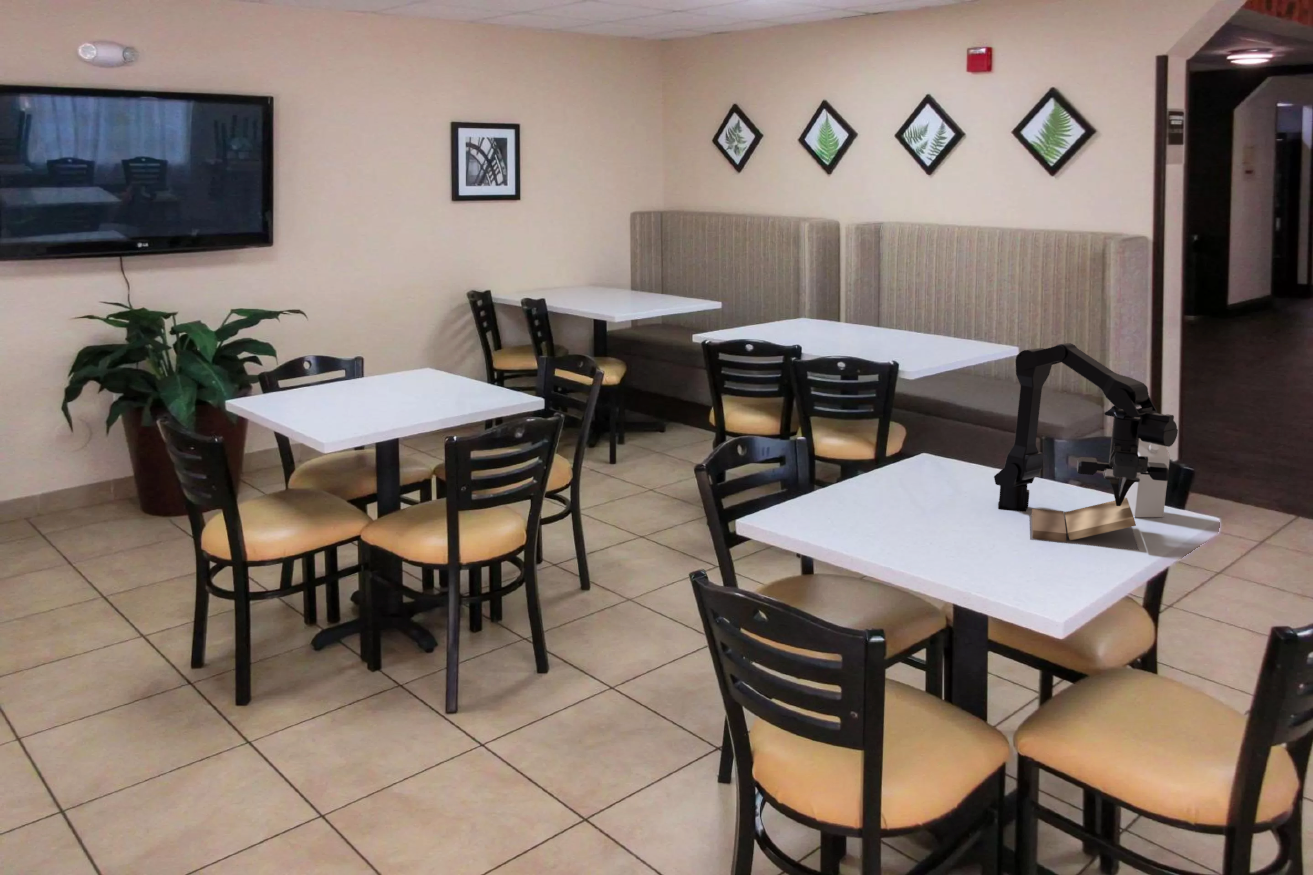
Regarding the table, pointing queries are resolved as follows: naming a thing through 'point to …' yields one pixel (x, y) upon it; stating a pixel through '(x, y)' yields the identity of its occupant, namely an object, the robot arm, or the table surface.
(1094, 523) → the oak plank
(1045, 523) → the walnut plank
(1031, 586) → the table surface
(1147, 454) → the milk carton
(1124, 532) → the underlay mat
